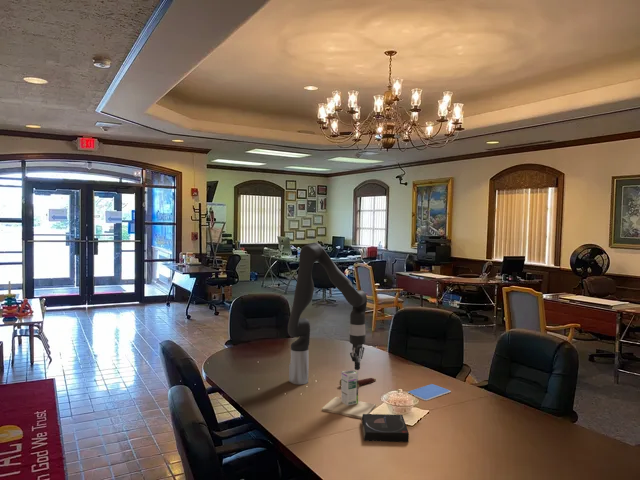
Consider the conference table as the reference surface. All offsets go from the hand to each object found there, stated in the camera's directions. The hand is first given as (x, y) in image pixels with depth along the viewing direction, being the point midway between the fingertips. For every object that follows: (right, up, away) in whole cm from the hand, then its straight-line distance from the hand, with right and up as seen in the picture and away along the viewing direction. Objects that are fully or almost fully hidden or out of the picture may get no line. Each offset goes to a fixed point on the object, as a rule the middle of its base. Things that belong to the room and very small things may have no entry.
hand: (357, 369), depth 217 cm
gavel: (+3, -14, +19) cm, 23 cm away
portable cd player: (+8, -16, -33) cm, 38 cm away
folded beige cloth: (-5, -15, -11) cm, 19 cm away
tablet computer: (+36, -15, +9) cm, 40 cm away
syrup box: (-4, -14, -7) cm, 16 cm away
